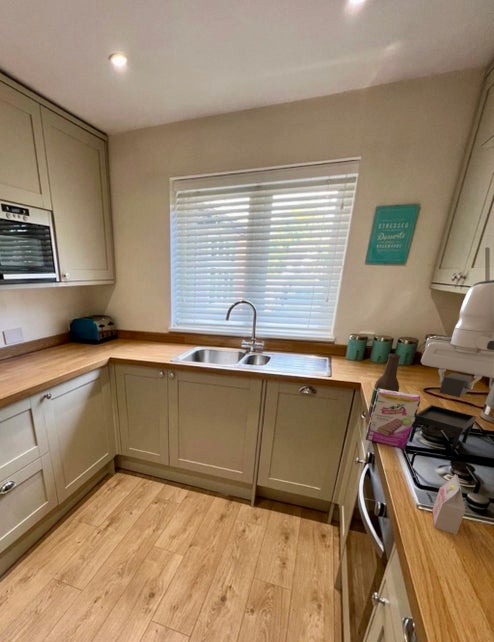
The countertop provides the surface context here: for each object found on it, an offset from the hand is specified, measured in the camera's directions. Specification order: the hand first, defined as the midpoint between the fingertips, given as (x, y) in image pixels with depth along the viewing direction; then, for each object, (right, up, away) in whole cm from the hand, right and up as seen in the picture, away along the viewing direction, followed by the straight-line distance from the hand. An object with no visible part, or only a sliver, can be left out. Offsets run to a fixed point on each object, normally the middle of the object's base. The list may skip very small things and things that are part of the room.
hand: (455, 386), depth 99 cm
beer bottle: (-8, -11, +25) cm, 28 cm away
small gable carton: (-26, -30, -28) cm, 49 cm away
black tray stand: (0, -18, +7) cm, 19 cm away
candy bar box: (-18, -18, +6) cm, 26 cm away
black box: (0, -2, +1) cm, 2 cm away
